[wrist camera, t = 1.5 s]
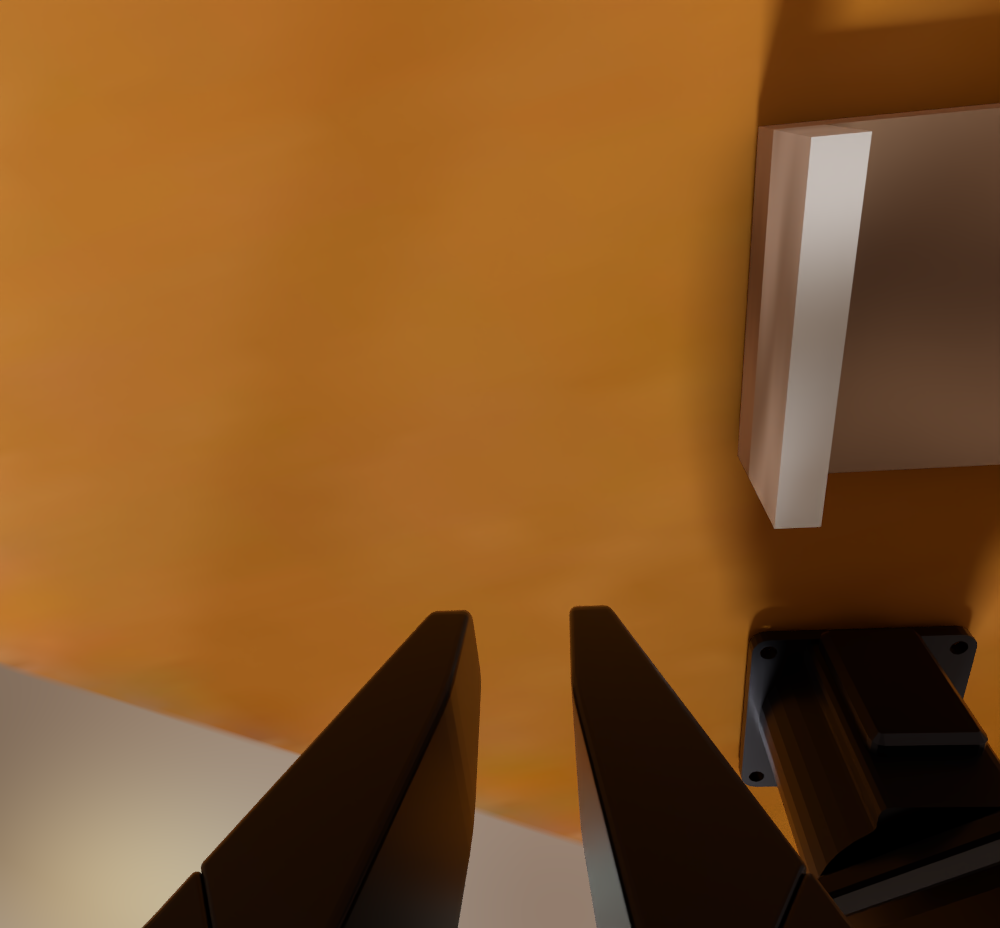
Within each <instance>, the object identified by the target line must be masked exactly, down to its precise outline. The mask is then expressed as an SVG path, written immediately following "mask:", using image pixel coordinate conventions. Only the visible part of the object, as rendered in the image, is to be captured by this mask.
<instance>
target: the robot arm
mask: <svg viewBox="0 0 1000 928" xmlns="http://www.w3.org/2000/svg"><path fill="white" fill-rule="evenodd" d="M959 641H960V642H959ZM956 642H959V643H957V644H955V645H952V644H954V643H956ZM769 646H770V647H772V648H771V649H769V650H762V649H763V648H765V647H769ZM976 649H977V642H976V640H975V639H974V637H973V636H972V635H971V634H970V632H969V631H968V630H967V629H966V628H964V627H961V626H935V627H902V628H868V629H834V630H800V631H767V632H761V633H758V634H756V635H754V637H753V638H752V639H751V640H750V642H749V648H748V660H747V672H746V685H745V697H744V709H743V721H742V733H741V745H740V757H739V771H740V774H741V778H742V780H741V779H740V777H739V776H738V775H737V773H736V772H735V771H734V769H733V768H732V767H731V765H730V764H729V763H728V761H727V760H726V759H725V757H724V756H723V755H722V754H721V752H720V751H719V750H718V748H717V747H716V746H715V744H714V743H713V742H712V740H711V739H710V738H709V736H708V735H707V734H706V732H705V731H704V730H703V729H702V727H701V726H700V725H699V723H698V722H697V721H696V719H695V718H694V717H693V715H692V714H691V713H690V711H689V710H688V709H687V707H686V706H685V705H684V703H683V702H682V701H681V700H680V698H679V697H678V696H677V694H676V693H675V692H674V690H673V689H672V688H671V686H670V685H669V684H668V682H667V681H666V680H665V678H664V677H663V676H662V675H661V673H660V672H659V671H658V669H657V668H656V667H655V665H654V664H653V663H652V661H651V660H650V659H649V657H648V656H647V655H646V653H645V652H644V651H643V649H642V648H641V647H640V646H639V644H638V643H637V642H636V640H635V639H634V638H633V636H632V635H631V634H630V632H629V631H628V630H627V628H626V627H625V626H624V624H623V623H622V622H621V621H620V619H619V618H618V617H617V615H616V614H615V613H614V611H613V610H612V609H611V608H610V607H608V606H604V605H600V606H576V607H573V608H572V609H571V610H570V658H571V686H572V701H573V716H574V731H575V746H576V761H577V776H578V791H579V806H580V819H581V831H582V838H583V845H584V853H585V859H586V865H587V871H588V877H589V883H590V889H591V896H592V902H593V908H594V914H595V920H596V925H597V928H1000V760H999V759H998V757H997V756H996V754H995V753H994V751H993V750H992V748H991V747H990V745H989V744H988V742H987V741H988V738H987V735H986V733H985V732H984V730H983V729H982V727H981V726H980V724H979V723H978V721H977V720H976V718H975V717H974V715H973V714H972V712H971V711H970V709H969V708H968V706H967V705H966V703H965V702H964V700H963V697H964V693H965V690H966V686H967V682H968V679H969V675H970V671H971V667H972V664H973V660H974V656H975V653H976ZM480 695H481V676H480V666H479V659H478V652H477V645H476V638H475V631H474V624H473V619H472V616H471V614H470V613H469V612H468V611H466V610H456V611H436V612H433V613H431V614H430V615H429V616H428V617H427V618H426V619H425V620H424V621H423V622H422V623H421V624H420V625H419V626H418V627H417V629H416V630H415V631H414V632H413V633H412V634H411V635H410V636H409V637H408V638H407V640H406V641H405V642H404V643H403V644H402V645H401V646H400V647H399V648H398V649H397V650H396V652H395V653H394V654H393V655H392V656H391V657H390V658H389V659H388V660H387V661H386V663H385V664H384V665H383V666H382V667H381V668H380V669H379V670H378V671H377V672H376V673H375V675H374V676H373V677H372V678H371V679H370V680H369V681H368V682H367V683H366V684H365V685H364V687H363V688H362V689H361V690H360V691H359V692H358V693H357V694H356V695H355V696H354V698H353V699H352V700H351V701H350V702H349V703H348V704H347V705H346V706H345V707H344V708H343V710H342V711H341V712H340V713H339V714H338V715H337V716H336V717H335V718H334V719H333V721H332V722H331V723H330V724H329V725H328V726H327V727H326V728H325V729H324V730H323V731H322V733H321V734H320V735H319V736H318V737H317V738H316V739H315V740H314V741H313V742H312V744H311V745H310V746H309V747H308V748H307V749H306V750H305V751H304V752H303V753H302V754H301V756H300V757H299V758H298V759H297V760H296V761H295V762H294V764H293V765H291V767H290V768H289V769H288V770H287V771H286V772H285V773H284V774H283V775H282V776H281V777H280V779H279V780H278V781H277V782H276V783H275V784H274V785H273V786H272V787H271V789H270V790H269V791H268V792H267V793H266V794H265V795H264V796H263V797H262V798H261V799H260V800H259V802H258V803H257V804H256V805H255V806H254V807H253V808H252V809H251V810H250V811H249V813H248V814H247V815H246V816H245V817H244V818H243V819H242V820H241V821H240V822H239V823H238V825H237V826H236V827H235V828H234V829H233V830H232V831H231V832H230V833H229V835H228V836H227V837H226V838H225V839H224V840H223V841H222V842H221V843H220V844H219V845H218V847H217V848H216V849H215V850H214V851H213V852H212V853H211V854H210V855H209V856H208V857H207V858H206V860H205V861H204V862H203V863H202V865H201V872H202V874H201V873H200V872H194V873H192V875H190V877H189V878H188V879H187V880H186V881H185V882H184V883H183V884H182V885H181V886H180V887H179V889H178V890H177V891H176V892H175V893H174V894H173V895H172V896H171V897H170V898H169V899H168V901H167V902H166V903H165V904H164V905H163V906H162V907H161V908H160V909H159V911H158V912H157V913H156V914H155V915H154V916H153V917H152V918H151V919H150V920H149V921H148V922H147V923H146V924H145V925H144V926H143V927H142V928H458V923H459V917H460V911H461V905H462V899H463V892H464V887H465V880H466V875H467V869H468V862H469V857H470V850H471V842H472V835H473V825H474V814H475V799H476V778H477V758H478V737H479V716H480ZM743 782H744V783H745V784H747V785H749V786H755V787H764V786H778V789H779V793H780V796H781V799H782V802H783V805H784V808H785V811H786V814H787V818H788V821H789V824H790V827H791V830H792V833H793V836H794V839H795V842H796V846H797V849H798V852H799V855H800V856H799V855H798V854H797V852H796V851H795V850H794V848H793V847H792V846H791V844H790V843H789V842H788V840H787V839H786V838H785V837H784V835H783V834H782V833H781V831H780V830H779V829H778V827H777V826H776V825H775V823H774V822H773V821H772V819H771V818H770V817H769V815H768V814H767V813H766V811H765V810H764V809H763V808H762V806H761V805H760V804H759V802H758V801H757V800H756V798H755V797H754V796H753V794H752V793H751V792H750V790H749V789H748V788H747V786H746V785H745V784H744V783H743Z"/></svg>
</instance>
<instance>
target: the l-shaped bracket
mask: <svg viewBox="0 0 1000 928" xmlns="http://www.w3.org/2000/svg"><path fill="white" fill-rule="evenodd" d="M738 457H739V459H740V461H741V463H742V465H743V467H744V469H745V471H746V473H747V475H748V477H749V479H750V481H751V483H752V485H753V487H754V489H755V491H756V493H757V495H758V497H759V499H760V501H761V503H762V505H763V507H764V509H765V511H766V513H767V515H768V517H769V519H770V521H771V523H772V525H773V527H774V529H783V528H806V527H821V523H822V515H823V507H824V500H825V492H826V484H827V476H828V473H842V472H862V471H881V470H901V469H921V468H941V467H960V466H980V465H1000V103H994V104H984V105H974V106H964V107H954V108H943V109H933V110H923V111H913V112H902V113H892V114H882V115H872V116H862V117H851V118H841V119H831V120H821V121H811V122H800V123H790V124H780V125H770V126H759V128H758V144H757V160H756V176H755V191H754V207H753V223H752V239H751V254H750V270H749V286H748V302H747V318H746V333H745V349H744V365H743V381H742V396H741V412H740V428H739V444H738Z"/></svg>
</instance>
